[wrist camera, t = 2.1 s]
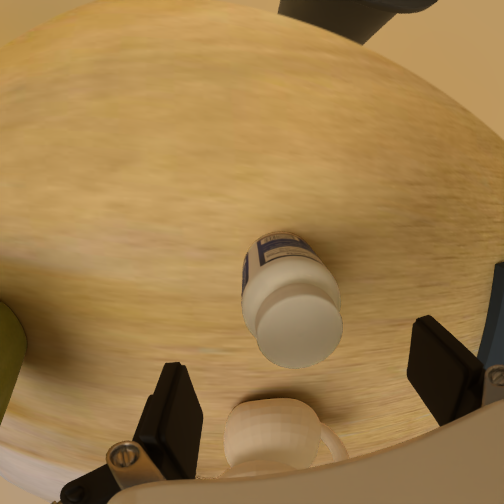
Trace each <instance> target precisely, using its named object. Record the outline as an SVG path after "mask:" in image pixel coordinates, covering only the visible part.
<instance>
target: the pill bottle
mask: <svg viewBox="0 0 504 504" xmlns="http://www.w3.org/2000/svg"><path fill="white" fill-rule="evenodd" d="M241 304H242V313H243V318H244V321H245V323H246V326H247V327H248V329H249V331H250V332H251V333H252V334H253V336H254V337H255V338H256V339H257V343H258V346H259V349H260V351H261V352H262V354H263V355H264V356H265V357H266V358H267V359H268V360H269V361H271V362H272V363H274V364H276V365H278V366H281V367H285V368H292V369H299V368H306V367H310V366H312V365H315V364H317V363H319V362H321V361H323V360H324V359H326V358H327V357H328V356H329V355H330V354H331V353H332V352H333V351H334V350H335V349H336V347H337V345H338V344H339V342H340V339H341V336H342V332H343V322H342V317H341V315H340V313H339V312H340V307H341V296H340V291H339V287H338V285H337V282H336V281H335V279H334V277H333V275H332V274H331V272H330V271H329V270H328V269H327V268H326V266H325V265H324V264H323V262H322V261H321V260H320V259H319V257H318V256H317V255H316V254H315V252H314V251H313V250H312V248H311V247H310V246H309V245H308V244H307V243H306V242H305V241H304V240H303V239H302V238H300V237H298V236H296V235H294V234H291V233H287V232H274V233H270V234H267V235H264V236H262V237H260V238H259V239H258V240H257V241H255V242H254V243H253V245H252V246H251V247H250V248H249V250H248V252H247V254H246V256H245V259H244V263H243V280H242V302H241Z"/></svg>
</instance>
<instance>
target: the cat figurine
mask: <svg viewBox="0 0 504 504" xmlns="http://www.w3.org/2000/svg"><path fill="white" fill-rule="evenodd" d="M320 439H321V440H322V441H323V442H324V443H325V444H326V445H327V447H328V448H329V450H330V452H331V453H332V456H333V459H334V462H338V461H342V460H346V459H350V458H349V455H348V453H347V450H346V448H345V446H344V444H343V443H342V441H341V440H340V438H339V437H338V436H337V434H336V433H335V432H334V431H333V430H332V429H331V428H329V427H328V426H327V425H325V424H323V423H321V422H320V421H319V418H318V417H317V415H316V413H315V412H314V410H313V409H312V408H311V407H309V406H308V405H307V404H305V403H304V402H302V401H299V400H297V399H291V398H275V399H264V400H256V401H249V402H245V403H241V404H239V405H238V406H236V407H235V408H234V409H233V411H232V412H231V413H230V415H229V417H228V419H227V422H226V426H225V432H224V450H225V456H226V458H227V461H228V463H229V465H230V466H231V468H230V469H228V470H227V471H225V472H224V473H223V474H221V475H220V476H219V477H218V478H232V477H245V476H256V475H265V474H273V473H281V472H287V471H294V470H299V469H305V468H309V467H310V466H311V464H312V463H313V461H314V459H315V458H316V455H317V451H318V447H319V442H320Z"/></svg>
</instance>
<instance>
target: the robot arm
mask: <svg viewBox="0 0 504 504" xmlns="http://www.w3.org/2000/svg"><path fill="white" fill-rule="evenodd" d="M483 367H484V364H483V363H482V362H481V361H480V360H479V359H478V358H477V357H476V356H474V355H473V354H472V353H471V352H470V351H469V350H468V349H467V348H466V347H465V346H464V345H463V344H462V343H461V342H460V341H458V340H457V339H456V338H455V337H454V336H453V335H452V334H451V333H450V332H449V331H447V330H446V329H445V328H444V327H443V326H442V325H441V324H440V323H438V322H437V321H436V320H435V319H434V318H433V317H432V316H430V315H426V316H423V317H420V318H417V319H416V322H415V323H413V327H412V337H411V345H410V353H409V360H408V367H407V378H408V380H409V381H410V383H411V384H412V386H413V387H414V389H415V390H416V391H417V393H418V394H419V396H420V397H421V399H422V400H423V402H424V403H425V405H426V406H427V408H428V409H429V410H430V412H431V413H432V415H433V416H434V418H435V419H436V421H437V422H438V424H439V426H440V427H439V428H437V429H434V430H432V431H430V432H427V433H425V434H422V435H420V436H417V437H415V438H412V439H410V440H407V441H404V442H402V443H399V444H396V445H393V446H390V447H387V448H384V449H381V450H378V451H375V452H371V453H368V454H365V455H361V456H357V457H354V458H350V459H346V460H342V461H338V462H334V463H330V464H325V465H320V466H315V467H310V468H305V469H299V470H294V471H287V472H281V473H273V474H265V475H256V476H245V477H232V478H215V479H195V475H196V467H197V460H198V453H199V445H200V438H201V431H202V424H203V412H202V409H201V407H200V404H199V401H198V399H197V396H196V393H195V391H194V388H193V385H192V383H191V380H190V377H189V374H188V371H187V368H186V366H185V365H181V364H180V362H173V363H165V365H164V367H163V370H162V372H161V375H160V378H159V380H158V383H157V386H156V388H155V391H154V394H153V395H150V396H149V397H148V399H147V402H146V404H145V407H144V410H143V412H142V415H141V418H140V421H139V423H138V426H137V429H136V431H135V434H134V437H133V440H132V441H122V442H119V443H116V444H115V445H113V446H112V447H111V448H110V449H109V450H108V452H107V454H106V462H107V464H105V465H103V466H101V467H99V468H97V469H95V470H94V471H92V472H90V473H88V474H85V475H83V476H81V477H79V478H77V479H75V480H73V481H71V482H69V483H67V484H66V485H65V486H64V487H63V488H62V490H61V493H60V499H61V500H60V501H59V502H58V503H57V502H56V501H54V502H52V503H51V504H504V365H494V366H491V367H489V368H488V369H487V370H485V369H484V368H483Z"/></svg>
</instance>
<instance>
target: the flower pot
mask: <svg viewBox="0 0 504 504" xmlns="http://www.w3.org/2000/svg"><path fill="white" fill-rule="evenodd" d="M26 349H27V340H26V336H25V333H24V330H23V328H22V326H21V324H20V322H19V320H18V319H17V317H16V316H15V314H14V313H13V312H12V311H11V310H10V308H9V307H8V306H6V305H5V304H4V303H2V302H1V301H0V425H1V422H2V419H3V417H4V414H5V411H6V409H7V406H8V403H9V401H10V398H11V395H12V392H13V389H14V386H15V384H16V381H17V378H18V375H19V372H20V369H21V365H22V362H23V359H24V356H25V353H26Z"/></svg>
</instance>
